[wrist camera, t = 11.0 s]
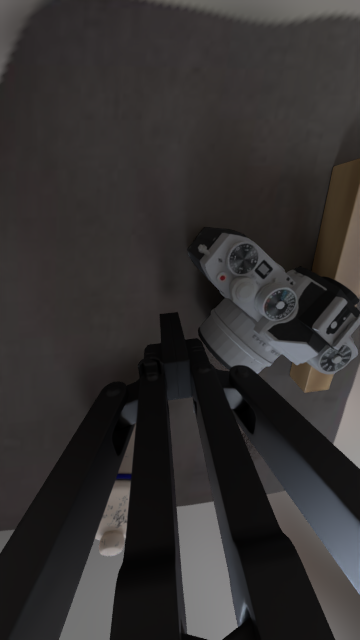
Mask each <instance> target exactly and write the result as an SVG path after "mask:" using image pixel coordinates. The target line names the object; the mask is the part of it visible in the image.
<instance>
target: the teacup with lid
mask: <svg viewBox="0 0 360 640" xmlns="http://www.w3.org/2000/svg"><path fill="white" fill-rule="evenodd" d="M135 429H136V423H135V427H134V429H133V432H132V435H131V438H130V441H129V443H128V446H127V449H126V452H125V455H124V458H123V460H122V463H121V466H120V469H119V472H118V474H117V477H116V480H115V483H114V486H113V488H112V491H111V494H110V497H109V500H108V503H107V505H106V508H105V511H104V514H103V517H102V519H101V522H100V525H99V528H98V531H97V533H96V536H95V539H98V540H100V544H99V551H100V553H101V554H102V555H104V556H114V555H117V554H119V553H120V552H121V551H122V549H123V547H124V539H126V529H127V518H128V507H129V496H130V485H131V474H132V463H133V452H134V440H135Z"/></svg>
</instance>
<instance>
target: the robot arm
mask: <svg viewBox="0 0 360 640" xmlns="http://www.w3.org/2000/svg"><path fill="white" fill-rule="evenodd" d="M160 327H161V343H159V344H150V345H147V347H146V348H145V352H144V359H143V360H141V361H140V362H139V364H138V369H139V374H140V379H139V380H137V381H136V382H134V383H132V384H129V385H127V386H126V384H124V383H123V382H113V383H110V384H108V385H107V386H105V387H104V388H103V389H102V391H101V392H100V394H99V396H98V397H97V399H96V400H95V402H94V404H93V405H92V407H91V408H90V410H89V412H88V413H87V415H86V417H85V418H84V420H83V421H82V423H81V425H80V426H79V428H78V429H77V431H76V433H75V434H74V436H73V437H72V439H71V441H70V442H69V444H68V445H67V447H66V449H65V450H64V452H63V454H62V455H61V457H60V458H59V460H58V462H57V463H56V465H55V466H54V468H53V470H52V471H51V473H50V474H49V476H48V478H47V479H46V481H45V482H44V484H43V486H42V487H41V489H40V491H39V492H38V494H37V495H36V497H35V499H34V500H33V502H32V503H31V505H30V507H29V508H28V510H27V511H26V513H25V515H24V516H23V518H22V520H21V521H20V523H19V524H18V526H17V528H16V529H15V531H14V532H13V534H12V536H11V537H10V539H9V541H8V542H7V544H6V545H5V547H4V549H3V550H2V552H1V553H0V640H59V637H60V634H61V632H62V629H63V626H64V623H65V621H66V618H67V615H68V612H69V609H70V607H71V603H72V601H73V598H74V595H75V592H76V589H77V587H78V584H79V581H80V578H81V575H82V572H83V570H84V567H85V564H86V561H87V559H88V556H89V553H90V550H91V547H92V545H93V542H94V539H95V536H96V533H97V531H98V528H99V525H100V522H101V519H102V517H103V514H104V511H105V508H106V505H107V503H108V500H109V497H110V494H111V491H112V488H113V486H114V483H115V480H116V477H117V474H118V472H119V469H120V466H121V463H122V460H123V458H124V455H125V452H126V449H127V446H128V443H129V441H130V438H131V435H132V432H133V429H134V427H135V423H136V429H135V440H134V452H133V463H132V474H131V485H130V496H129V507H128V518H127V529H126V540H125V551H124V558H123V563H122V566H121V568H120V570H119V573H118V578H117V582H116V589H115V596H114V605H113V614H112V624H111V633H110V640H207V639H203V638H199V637H196V636H192V635H188V634H187V626H186V614H185V604H184V594H183V584H182V572H181V560H180V546H179V534H178V521H177V508H176V495H175V482H174V469H173V457H172V444H171V431H170V418H169V406H168V400H174V399H181V398H188V397H192V395H193V405H194V413H195V414H196V419H197V424H198V428H199V433H200V438H201V443H202V448H203V452H204V457H205V462H206V467H207V472H208V476H209V481H210V486H211V491H212V495H213V500H214V505H215V509H216V514H217V519H218V524H219V529H220V534H221V539H222V543H223V548H224V553H225V558H226V562H227V567H228V572H229V578H230V586H231V592H232V598H233V604H234V610H235V615H236V620H237V624H238V628H236V629H235V630H234V631H233V632H231V633H230V634H229V635H228V636H226V637H225V638H224V639H223V640H335V638H334V636H333V634H332V631H331V629H330V627H329V624H328V622H327V620H326V617H325V615H324V613H323V610H322V608H321V606H320V603H319V601H318V599H317V597H316V594H315V592H314V589H313V587H312V585H311V582H310V580H309V578H308V576H307V574H306V571H305V569H304V566H303V564H302V562H301V559H300V557H299V555H298V553H297V551H296V549H295V547H294V545H293V544H292V542H291V540H290V539H289V538H288V537H287V536H286V535H285V534H284V533H283V532H282V530H281V529H280V527H279V525H278V522H277V520H276V518H275V515H274V513H273V510H272V508H271V505H270V503H269V500H268V498H267V495H266V493H265V490H264V488H263V485H262V483H261V481H260V478H259V476H258V473H257V471H256V468H255V466H254V463H253V461H252V458H251V456H250V454H249V451H248V449H247V446H246V444H245V441H244V439H243V436H242V434H241V431H240V429H239V427H238V424H239V425H240V427H241V428H242V430H243V431H244V432H245V434H246V435H247V437H248V438H249V439H250V441H251V442H252V444H253V445H254V446H255V448H256V449H257V451H258V452H259V454H260V455H261V456H262V458H263V459H264V461H265V462H266V463H267V465H268V466H269V468H270V469H271V470H272V472H273V473H274V475H275V476H276V478H277V479H278V480H279V482H280V483H281V485H282V486H283V487H284V489H285V490H286V492H287V493H288V494H289V496H290V497H291V499H292V500H293V501H294V503H295V504H296V506H297V507H298V508H299V510H300V511H301V513H302V514H303V516H304V517H305V518H306V520H307V521H308V523H309V524H310V525H311V527H312V528H313V530H314V531H315V533H316V534H317V535H318V537H319V538H320V539H321V541H322V542H323V544H324V545H325V547H326V548H327V549H328V551H329V552H330V554H331V555H332V557H333V558H334V559H335V561H336V562H337V564H338V565H339V566H340V568H341V569H342V571H343V572H344V573H345V575H346V576H347V578H348V579H349V581H350V582H351V583H352V585H353V586H354V588H355V589H356V590H357V592H358V593H359V595H360V469H359V468H358V467H357V466H356V465H355V464H354V463H353V462H352V461H350V460H349V459H348V458H347V457H346V456H345V455H344V454H343V453H342V452H341V451H339V449H338V448H336V447H335V446H334V445H333V444H332V443H331V442H330V441H329V440H328V439H327V438H326V437H325V436H324V435H322V434H321V433H320V432H319V431H318V430H317V429H316V428H315V427H314V426H313V425H312V424H311V423H310V422H308V421H307V420H306V419H305V418H304V417H303V416H302V415H301V414H300V413H299V412H298V411H297V410H296V409H294V408H293V407H292V406H291V405H290V404H289V403H288V402H287V401H286V400H285V399H284V398H283V397H282V396H280V395H279V394H278V393H277V392H276V391H275V390H274V389H273V388H272V387H271V386H270V385H269V384H268V383H266V382H265V381H264V380H263V379H262V378H261V377H260V376H259V375H258V374H257V373H256V372H255V371H254V370H252V369H251V368H250V367H248V366H245V365H235V366H233V367H231V369H230V371H222V370H218V369H215V368H214V366H213V365H212V364H210V362H209V360H208V357H207V355H206V352H205V349H204V347H203V344H202V342H201V341H200V340H199V339H197V338H196V339H187V340H185V339H184V335H183V331H182V327H181V323H180V319H179V315H178V312H175V313H166V314H160ZM236 421H237V422H238V424H237V422H236Z"/></svg>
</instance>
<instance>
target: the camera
mask: <svg viewBox="0 0 360 640" xmlns="http://www.w3.org/2000/svg"><path fill="white" fill-rule="evenodd" d="M187 251H188V255H189V256H190V258H191V260H192V262H193V263H194V265H195V266H197V268H198V269H199V270H200V271H201V272H202V273H203V274H204V275H205V276H206V277H207V279H208V280H209V281H210V282H212V283H213V284H214V286H215V287H216V288H218V289H219V291H220V293H221V294H222V295H223V296H224V297H225V298H224V299H223V300H222V301H221V302H220V303H219V305H218V306H217V307H216V308H213V309H212V311H211V315H210V316H209V317H208V318H207V319H206V321H205V322H204V323H203V324H202V325H201V326H200V327H199V329H198V333H199V336H200V338H201V340H202V341H203V343H204V344H205V346H206V347H207V348H208V350H209V351H210V352H211V353H212V354H213V356H214V357H215V358H216V359H217V360H218V361H219V362H220V363H222V364H223V365H224V366H225V367H226V368H227V369H229V370H230V369H231V367H233V366H235V365H245V366H248V367H250V368H251V369H252V370H254V371H255V372H256V373H257V374H258V373H259V372H260V371H261V370H262V369H263V368H265V367H266V366H268V367H269V366H271V365H272V364H273V361H274V360H275V359H277V358H278V357H279V356H280V355H281V354H283V355H284V356H285V357H287V358H288V359H289V360H290V361H292V362H293V363H294V364H295V365H299V364H300V363H305V362H307V363H308V364H309V365H311V366H312V367H313V368H315V369H316V370H318V371H319V372H321V373H324V374H334V373H336V372H337V371H339V370H341V369H342V368H344V367H345V366H346V365H347V364H348V363H349V362H350V361H351V360H352V359H354V358H355V357H356V356H357V355H358V350H357V348H356V346H355V344H354V343H353V342H354V340H353V339H352V337H351V334H352V333H353V332H354V331H355V329H356V328H357V327H358V326H359V325H360V317H358V316H359V314H360V311H359V310H358V309H357V308H356V307H355V305H356V304H357V303H358V302H359V299H358V297H357V296H356V295H355V294H354V293H353V292H352V291H351V290H350V289H349V288H347V287H346V286H345V285H343V284H341V283H340V282H338V281H336V280H334V279H332V278H329V277H325V276H323V277H321V276H319V275H318V274H316V273H314V272H312V271H310V270H308V269H305V268H303V267H301V266H300V267H298V268H296V269H292V270H290V271H288V272H287V273H285V272H284V271H285V270H284V268H283V267H282V266H280V265H279V264H278V263H276V262H274V261H273V260H272V259H271V258H270V257H269V256H268V255H267V254H266V253H265V252H264V251H263V250H262V249H261V248H260V247H259V246H258V245H257V244H256V243H255V242H253V241H251V240H250V239H249V238H248V237H246V236H245V235H244V234H241V233H239V232H237V231H234V230H230V229H220V228H210V227H204V228H203V229H202V231H201V232H200V233H199V235H198V236H197V237H196V239H195V240H194V241H193V243H192V244H191V245H190V246H189V248H188V249H187Z"/></svg>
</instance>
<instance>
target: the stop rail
mask: <svg viewBox="0 0 360 640" xmlns="http://www.w3.org/2000/svg"><path fill="white" fill-rule="evenodd" d="M312 272H314V273H316V274H318V275H319V276H321V277H323V276H325V277H329V278H332V279H334V280H336V281H338V282H340V283H341V284H343V285H345V286H346V287H347V288H349V289H350V290H351V291H352V292H353V293H354V294H355V295H356V296H357V297H358V299H359V296H360V158H359V159H356V160H353V161H349V162H346V163H343V164H340V165H337V166H334V167H333V171H332V175H331V180H330V185H329V190H328V195H327V199H326V204H325V209H324V214H323V218H322V223H321V228H320V233H319V237H318V242H317V247H316V252H315V257H314V261H313V266H312ZM356 305H357V304H356ZM356 305H355V307H356ZM333 375H334V374H324V373H321V372H319V371H318V370H316V369H315V368H313V367H312V366H311V365H309V364H308V363H307V362H305V363H300V364H299V365H295V364H294V363H293V362H292V366H291V371H290V377H291V378H292V379H293V380H294V381H295V382H296V383H297V385H298V386H299V387H300V388H301V389H302V390H303V392H304V393H306V392H313V391H320V390H327V389H329V387H330V384H331V381H332V378H333Z"/></svg>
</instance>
